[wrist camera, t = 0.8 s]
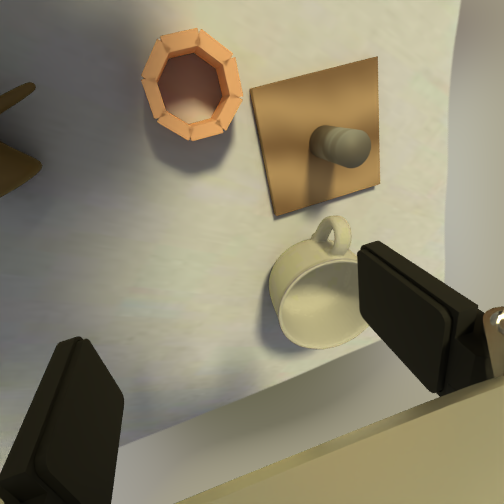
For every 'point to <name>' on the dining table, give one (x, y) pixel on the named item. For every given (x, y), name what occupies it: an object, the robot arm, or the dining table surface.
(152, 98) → the ring
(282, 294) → the teacup
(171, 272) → the dining table surface
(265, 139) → the post plate
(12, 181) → the kendama
